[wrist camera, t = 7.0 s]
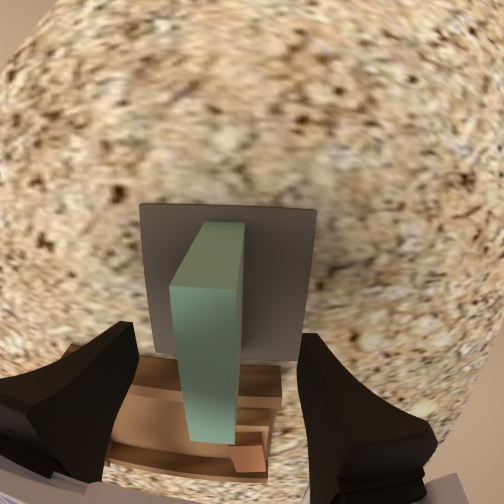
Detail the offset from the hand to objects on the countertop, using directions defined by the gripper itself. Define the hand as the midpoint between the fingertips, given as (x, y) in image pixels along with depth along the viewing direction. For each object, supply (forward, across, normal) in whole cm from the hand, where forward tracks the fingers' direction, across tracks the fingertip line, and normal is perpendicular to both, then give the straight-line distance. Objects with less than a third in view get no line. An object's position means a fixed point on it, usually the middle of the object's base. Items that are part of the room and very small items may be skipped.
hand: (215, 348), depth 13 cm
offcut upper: (+3, -2, +12) cm, 12 cm away
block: (+5, 0, 0) cm, 5 cm away
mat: (+5, 0, 0) cm, 5 cm away
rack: (+5, +4, +11) cm, 13 cm away
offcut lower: (+4, -2, +11) cm, 12 cm away
